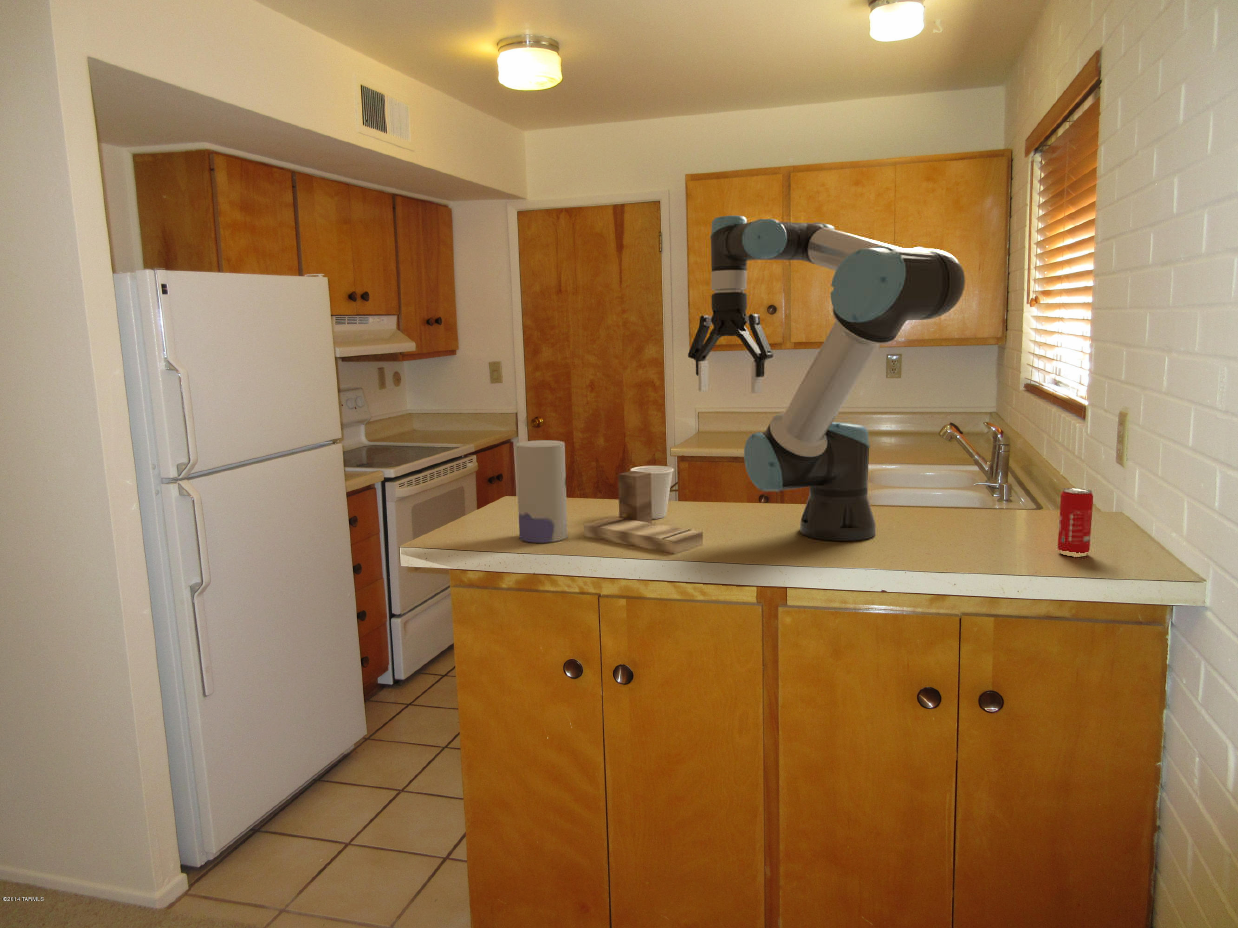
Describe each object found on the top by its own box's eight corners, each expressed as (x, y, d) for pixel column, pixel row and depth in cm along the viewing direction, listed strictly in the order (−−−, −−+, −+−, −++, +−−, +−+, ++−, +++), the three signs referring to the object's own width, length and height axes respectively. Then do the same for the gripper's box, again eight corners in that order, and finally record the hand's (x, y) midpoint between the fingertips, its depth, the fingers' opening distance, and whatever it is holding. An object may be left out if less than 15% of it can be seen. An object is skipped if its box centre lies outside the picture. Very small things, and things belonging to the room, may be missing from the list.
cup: (675, 520, 191) (674, 472, 189) (631, 521, 191) (630, 473, 189) (673, 511, 200) (672, 465, 199) (631, 512, 201) (630, 466, 199)
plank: (702, 544, 170) (702, 531, 169) (675, 553, 163) (675, 540, 163) (612, 527, 185) (612, 516, 185) (584, 535, 179) (583, 523, 178)
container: (577, 535, 179) (574, 441, 176) (547, 545, 171) (543, 447, 168) (540, 529, 185) (537, 438, 182) (509, 539, 177) (505, 444, 174)
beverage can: (1072, 559, 154) (1077, 493, 152) (1050, 552, 158) (1054, 488, 156) (1095, 556, 155) (1100, 491, 153) (1073, 549, 160) (1077, 486, 158)
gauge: (651, 527, 185) (651, 472, 183) (632, 533, 180) (631, 477, 178) (634, 524, 188) (633, 470, 186) (614, 529, 184) (613, 475, 182)
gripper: (789, 289, 176) (788, 392, 179) (692, 294, 192) (692, 388, 195) (771, 289, 170) (770, 395, 174) (671, 294, 187) (672, 391, 190)
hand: (729, 392), depth 185 cm, fingers open, 13 cm apart
